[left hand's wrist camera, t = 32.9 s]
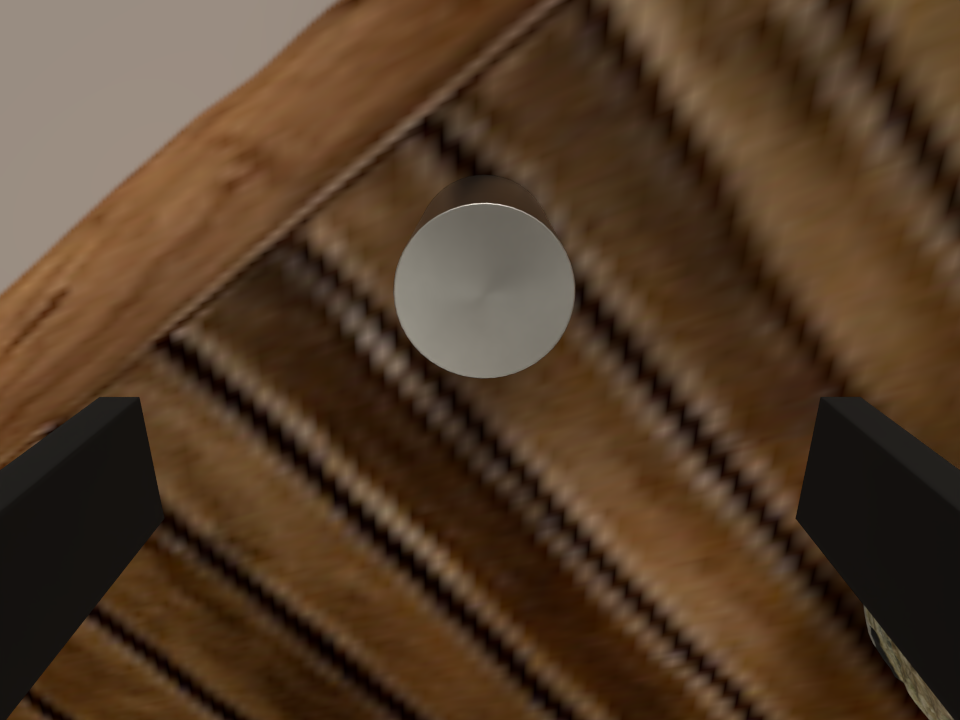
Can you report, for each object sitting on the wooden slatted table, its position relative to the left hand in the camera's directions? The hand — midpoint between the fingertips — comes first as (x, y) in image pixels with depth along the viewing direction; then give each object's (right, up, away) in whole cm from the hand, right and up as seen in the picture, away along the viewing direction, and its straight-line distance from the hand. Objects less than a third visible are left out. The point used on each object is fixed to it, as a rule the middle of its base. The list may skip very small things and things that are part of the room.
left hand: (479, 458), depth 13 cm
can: (0, +7, +18) cm, 19 cm away
